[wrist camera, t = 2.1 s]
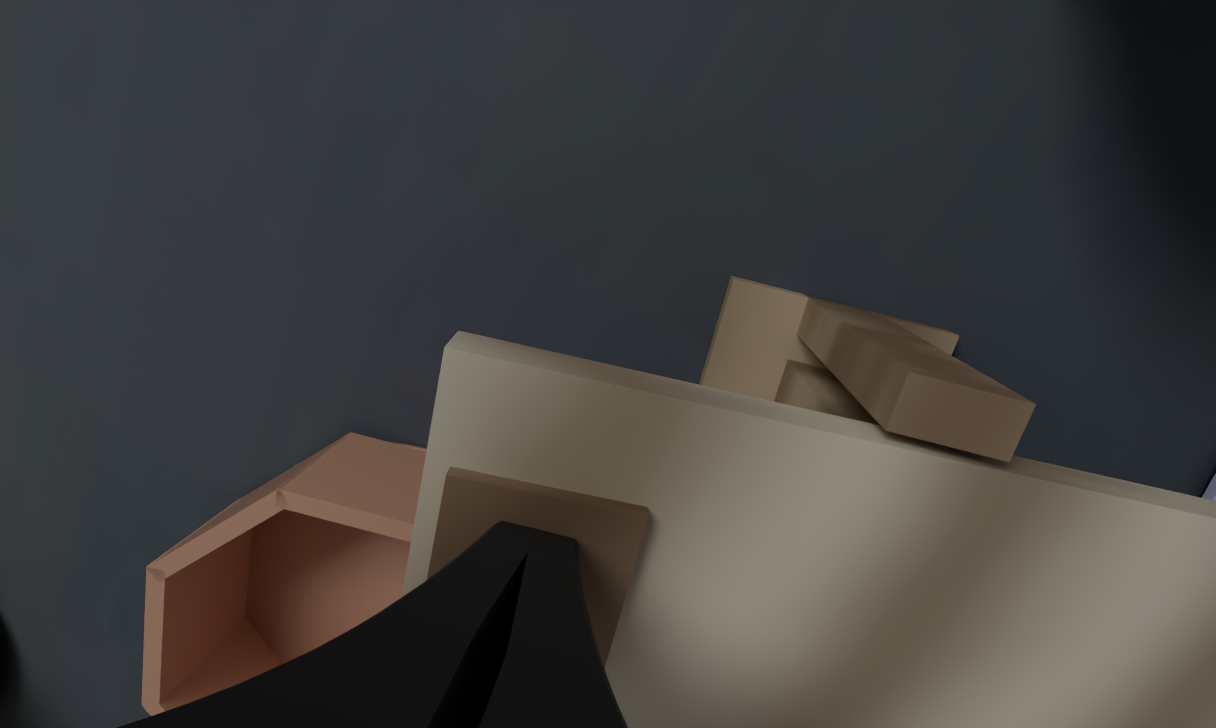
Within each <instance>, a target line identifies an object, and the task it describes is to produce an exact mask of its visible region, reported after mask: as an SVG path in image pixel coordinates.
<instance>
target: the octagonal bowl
mask: <svg viewBox="0 0 1216 728" xmlns="http://www.w3.org/2000/svg"><path fill="white" fill-rule="evenodd" d="M426 452H427V447H424V446H419V445H414V444H408V443H401V442H387V441H383V440H379V439H375V438H371V437H367V436H363V435H360V434H356V433H352V432H349V433H348V434H347V435H345V436H344V437H342V438H340V439H339V440H337V441H335V442H334V443H332V444H330V445H329V446H327V447H325V448H324V449H322V450H320V451H319V452H317V453H315V454H314V455H312V456H310V457H309V458H307V459H305V460H303V461H301V462H299V463H298V464H296V465H295V466H294V467H292V468H291V469H289V470H287V471H286V472H284V473H282V474H281V475H279V476H277V477H276V478H274V479H272V480H271V481H269V482H267V483H266V484H264V485H262V486H261V487H259V488H257V489H256V490H254V491H252V492H251V493H249V494H247V495H246V496H244V497H242V498H241V499H238V500H237V501H236V502H234V503H233V504H231V505H230V506H229V507H227V508H226V509H225V510H223V511H222V512H220V513H219V514H218V515H216V516H215V517H214V518H212V519H211V520H210V521H208V522H207V523H205V524H204V525H203V526H201V527H200V528H199V529H197V530H196V531H194V532H193V533H192V534H190V535H189V536H188V537H186V538H185V539H183V540H182V541H181V542H179V543H178V544H177V545H175V546H174V547H173V548H171V549H170V550H168V551H167V552H166V553H164V554H163V555H162V556H160V557H159V558H157V559H156V560H155V561H153V562H152V563H151V564H149V565H148V566H147V567H146V596H145V625H144V653H143V682H142V706H143V707H144V709H145V710H146V711H147V712H148V713H149V714H150V715H151V716H153V715H156V714H159V713H162V712H165V711H167V710H170V709H173V708H176V707H179V706H182V705H184V704H187V703H190V702H193V701H195V700H198V699H201V698H203V697H206V696H208V695H211V694H214V693H216V692H219V691H221V690H224V689H227V688H229V687H232V686H234V685H237V684H239V683H241V682H244V681H246V680H248V679H250V678H253V677H255V676H257V675H259V674H262V673H264V672H266V671H268V670H270V669H273V668H275V667H277V666H279V665H282V664H284V663H286V662H288V661H290V660H292V659H294V658H297V657H299V656H301V655H303V654H305V653H307V652H309V651H311V650H313V649H315V648H317V647H319V646H321V645H323V644H325V643H326V642H328V641H330V640H332V639H334V638H336V637H337V636H339V635H341V634H343V633H345V632H347V631H348V630H350V629H352V628H354V627H355V626H357V625H359V624H360V623H362V622H364V621H365V620H367V619H369V618H370V617H372V616H374V615H375V614H377V613H379V612H380V611H382V610H383V609H385V608H386V607H388V606H389V605H391V604H392V603H394V602H395V601H397V600H398V599H400V598H401V597H402V591H403V585H404V579H405V574H406V568H407V562H408V556H409V550H410V545H411V539H412V533H413V527H414V521H415V516H416V510H417V504H418V498H419V492H420V486H421V481H422V475H423V469H424V463H425V457H426Z"/></svg>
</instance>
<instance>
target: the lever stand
mask: <svg viewBox="0 0 1216 728" xmlns="http://www.w3.org/2000/svg"><path fill="white" fill-rule="evenodd" d="M958 338H959V335H957V334H955V333H953V332H950V331H948V330H944V329H940V328H936V327H932V326H928V325H924V324H920V323H916V322H912V321H908V320H904V319H900V318H896V317H892V316H888V315H884V314H880V313H877V312H873V311H869V310H865V309H861V308H857V307H853V306H849V305H845V304H841V303H837V302H833V301H829V300H825V299H821V298H817V297H813V296H809V295H805V294H801V293H798V292H794V291H790V290H786V289H782V288H778V287H774V286H770V285H766V284H762V283H758V282H754V281H750V280H746V279H742V278H738V277H734V276H731V278H730V281H729V285H728V288H727V291H726V295H725V298H724V301H723V305H722V308H721V312H720V315H719V318H718V322H717V325H716V328H715V332H714V335H713V338H712V342H711V345H710V349H709V352H708V355H707V359H706V362H705V365H704V369H703V372H702V375H701V379H700V382H699V385H702V386H707V387H711V388H716V389H720V390H724V391H729V392H733V393H738V394H742V395H747V396H751V397H755V398H760V399H764V400H769V401H773V402H778V403H782V404H787V405H791V406H795V407H800V408H804V409H809V410H813V411H818V412H822V413H827V414H831V415H835V416H840V417H844V418H849V419H853V420H858V421H862V422H866V423H871V424H875V425H880V426H882V427H883V428H884V430H885V431H889V432H893V433H897V434H901V435H905V436H909V437H913V438H917V439H920V440H924V441H928V442H932V443H936V444H940V445H944V446H948V447H952V448H956V449H959V450H963V451H967V452H971V453H975V454H979V455H983V456H987V457H991V458H995V459H999V460H1002V461H1006V462H1010V460H1011V457H1012V455H1013V453H1014V451H1015V449H1016V447H1017V445H1018V442H1019V440H1020V438H1021V436H1022V434H1023V432H1024V429H1025V427H1026V425H1027V423H1028V421H1029V419H1030V417H1031V414H1032V412H1033V410H1034V408H1035V406H1036V404H1035V403H1033V402H1031V401H1030V400H1028V399H1026V398H1024V397H1023V396H1021V395H1019V394H1017V393H1016V392H1014V391H1012V390H1010V389H1009V388H1007V387H1005V386H1004V385H1002V384H1000V383H998V382H997V381H995V380H993V379H991V378H990V377H988V376H986V375H984V374H983V373H981V372H979V371H977V370H976V369H974V368H972V367H970V366H969V365H967V364H965V363H963V362H962V361H960V360H958V359H957V358H955V357H953V356H951V355H952V353H953V350H954V348H955V346H956V343H957V341H958Z"/></svg>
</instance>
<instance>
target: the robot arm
mask: <svg viewBox="0 0 1216 728" xmlns="http://www.w3.org/2000/svg"><path fill="white" fill-rule="evenodd" d="M1202 498H1204V499H1208V500H1213V501H1216V473H1215V475H1214V477H1213V479H1212V480H1211V482H1210V484H1209V486H1208V487H1207V489H1206V491H1205V493H1204V494H1203V496H1202ZM117 728H628V726H627V724H626V722H625V720H624V717H623V715H622V713H621V711H620V708H619V706H618V703H617V701H616V698H615V696H614V693H613V691H612V688H611V685H610V683H609V680H608V677H607V675H606V672H605V669H604V666H603V663H602V660H601V657H600V654H599V651H598V647H597V644H596V641H595V637H594V634H593V630H592V626H591V622H590V618H589V614H588V610H587V606H586V602H585V597H584V592H583V587H582V581H581V574H580V566H579V545H578V543H577V542H576V540H575V539H574V538H571V537H567V536H563V535H559V534H555V533H551V532H547V531H544V530H540V529H536V528H532V527H527V526H523V525H519V524H514V523H510V522H505V521H500V522H498V523H496V524H494V525H493V526H492V527H491V528H490V529H489V530H488V531H487V532H485V533H484V534H483V535H482V536H481V537H480V538H479V539H478V540H477V541H475V542H474V543H473V544H472V545H471V546H470V547H468V548H467V549H466V550H465V551H464V552H462V553H461V554H460V555H459V556H457V557H456V558H455V559H454V560H452V561H451V562H450V563H448V564H447V565H446V566H445V567H443V568H442V569H441V570H439V571H438V572H437V573H435V574H434V575H433V576H431V577H430V578H429V579H427V580H426V581H425V582H423V583H422V584H421V585H419V586H418V587H416V588H415V589H413V590H412V591H410V592H409V593H407V594H406V595H404V596H403V597H401V598H400V599H398V600H397V601H395V602H394V603H392V604H391V605H389V606H388V607H386V608H385V609H383V610H382V611H380V612H379V613H377V614H375V615H374V616H372V617H370V618H369V619H367V620H365V621H364V622H362V623H360V624H359V625H357V626H355V627H354V628H352V629H350V630H348V631H347V632H345V633H343V634H341V635H339V636H337V637H336V638H334V639H332V640H330V641H328V642H326V643H325V644H323V645H321V646H319V647H317V648H315V649H313V650H311V651H309V652H307V653H305V654H303V655H301V656H299V657H297V658H294V659H292V660H290V661H288V662H286V663H284V664H282V665H279V666H277V667H275V668H273V669H270V670H268V671H266V672H264V673H262V674H259V675H257V676H255V677H253V678H250V679H248V680H246V681H244V682H241V683H239V684H237V685H234V686H232V687H229V688H227V689H224V690H221V691H219V692H216V693H214V694H211V695H208V696H206V697H203V698H201V699H198V700H195V701H193V702H190V703H187V704H184V705H182V706H179V707H176V708H173V709H170V710H167V711H165V712H162V713H159V714H156V715H153V716H150V717H148V718H145V719H142V720H139V721H136V722H133V723H130V724H126V725H123V726H120V727H117Z"/></svg>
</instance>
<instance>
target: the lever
mask: <svg viewBox="0 0 1216 728" xmlns="http://www.w3.org/2000/svg"><path fill="white" fill-rule="evenodd" d="M500 521H505V522H510V523H514V524H519V525H523V526H527V527H532V528H536V529H540V530H544V531H547V532H551V533H555V534H559V535H563V536H567V537H571V538H574V539H575V540H576V542H577V543H578V545H579V566H580V574H581V581H582V587H583V592H584V597H585V602H586V606H587V610H588V614H589V618H590V622H591V626H592V630H593V634H594V637H595V641H596V644H597V647H598V651H599V654H600V657H601V660H602V663H603V666H604V669H605V672H606V675H607V677H608V680H609V683H610V685H611V688H612V691H613V693H614V696H615V698H616V701H617V703H618V706H619V708H620V711H621V713H622V715H623V717H624V720H625V722H626V724H627V726H628V728H1216V501H1213V500H1208V499H1204V498H1199V497H1195V496H1191V495H1186V494H1182V493H1177V492H1173V491H1168V490H1164V489H1160V488H1155V487H1151V486H1146V485H1142V484H1137V483H1133V482H1128V481H1124V480H1120V479H1115V478H1111V477H1106V476H1102V475H1097V474H1093V473H1088V472H1084V471H1080V470H1075V469H1071V468H1066V467H1062V466H1057V465H1053V464H1049V463H1044V462H1040V461H1035V460H1031V459H1026V458H1022V457H1017V456H1013V455H1012V457H1011V460H1010V462H1006V461H1002V460H999V459H995V458H991V457H987V456H983V455H979V454H975V453H971V452H967V451H963V450H959V449H956V448H952V447H948V446H944V445H940V444H936V443H932V442H928V441H924V440H920V439H917V438H913V437H909V436H905V435H901V434H897V433H893V432H889V431H885V430H884V428H883V427H882V426H880V425H875V424H871V423H866V422H862V421H858V420H853V419H849V418H844V417H840V416H835V415H831V414H827V413H822V412H818V411H813V410H809V409H804V408H800V407H795V406H791V405H787V404H782V403H778V402H773V401H769V400H764V399H760V398H755V397H751V396H747V395H742V394H738V393H733V392H729V391H724V390H720V389H716V388H711V387H707V386H702V385H698V384H693V383H689V382H684V381H680V380H676V379H671V378H667V377H662V376H658V375H653V374H649V373H644V372H640V371H636V370H631V369H627V368H622V367H618V366H613V365H609V364H605V363H600V362H596V361H591V360H587V359H582V358H578V357H573V356H569V355H565V354H560V353H556V352H551V351H547V350H542V349H538V348H533V347H529V346H525V345H520V344H516V343H511V342H507V341H502V340H498V339H494V338H489V337H485V336H480V335H476V334H471V333H467V332H462V331H458V332H457V333H456V334H455V335H454V337H453V338H452V339H451V340H450V341H449V342H448V343H447V345H446V346H445V347H444V353H443V359H442V364H441V370H440V376H439V382H438V388H437V393H436V399H435V405H434V411H433V417H432V423H431V428H430V434H429V440H428V446H427V452H426V457H425V463H424V469H423V475H422V481H421V486H420V492H419V498H418V504H417V510H416V516H415V521H414V527H413V533H412V539H411V545H410V550H409V556H408V562H407V568H406V574H405V579H404V585H403V591H402V597H403V596H404V595H406V594H407V593H409V592H410V591H412V590H413V589H415V588H416V587H418V586H419V585H421V584H422V583H423V582H425V581H426V580H427V579H429V578H430V577H431V576H433V575H434V574H435V573H437V572H438V571H439V570H441V569H442V568H443V567H445V566H446V565H447V564H448V563H450V562H451V561H452V560H454V559H455V558H456V557H457V556H459V555H460V554H461V553H462V552H464V551H465V550H466V549H467V548H468V547H470V546H471V545H472V544H473V543H474V542H475V541H477V540H478V539H479V538H480V537H481V536H482V535H483V534H484V533H485V532H487V531H488V530H489V529H490V528H491V527H492V526H493V525H494V524H496V523H498V522H500Z"/></svg>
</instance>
